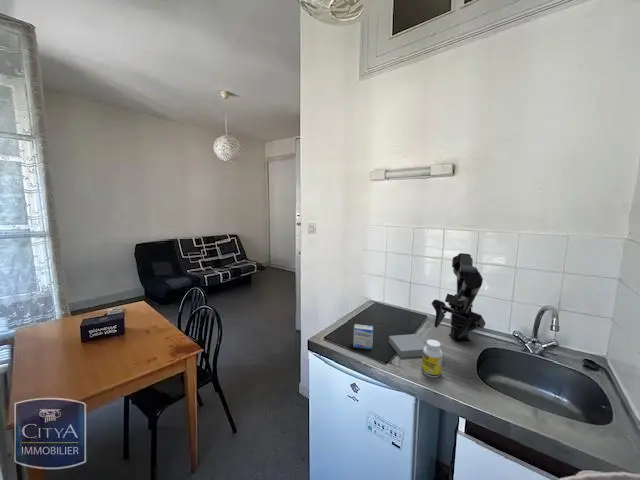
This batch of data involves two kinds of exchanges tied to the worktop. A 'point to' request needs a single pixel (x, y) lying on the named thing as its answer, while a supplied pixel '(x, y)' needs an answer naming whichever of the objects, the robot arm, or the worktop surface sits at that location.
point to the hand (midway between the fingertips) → (446, 332)
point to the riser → (407, 345)
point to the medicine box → (363, 336)
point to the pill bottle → (432, 358)
